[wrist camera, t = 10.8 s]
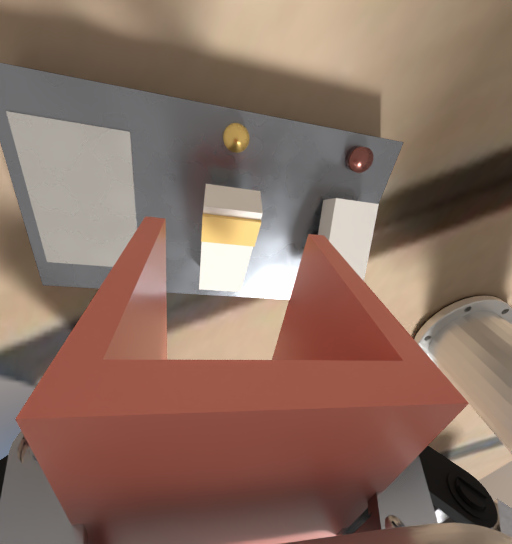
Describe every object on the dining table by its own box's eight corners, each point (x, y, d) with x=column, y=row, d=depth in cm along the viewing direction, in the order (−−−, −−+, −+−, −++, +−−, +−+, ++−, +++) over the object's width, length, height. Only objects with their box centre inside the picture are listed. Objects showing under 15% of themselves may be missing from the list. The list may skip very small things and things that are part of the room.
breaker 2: (362, 205, 20) (378, 204, 18) (344, 305, 21) (357, 314, 19) (323, 199, 19) (336, 198, 17) (307, 303, 21) (317, 312, 19)
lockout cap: (324, 235, 9) (469, 402, 4) (273, 391, 14) (310, 566, 9) (145, 216, 8) (15, 418, 3) (154, 393, 13) (111, 599, 7)
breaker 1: (260, 191, 16) (263, 215, 14) (240, 271, 22) (240, 294, 20) (205, 183, 15) (202, 208, 14) (200, 268, 21) (198, 291, 20)
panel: (380, 138, 21) (414, 144, 17) (327, 284, 28) (343, 310, 24) (14, 66, 16) (-45, 53, 12) (62, 265, 23) (33, 294, 19)
